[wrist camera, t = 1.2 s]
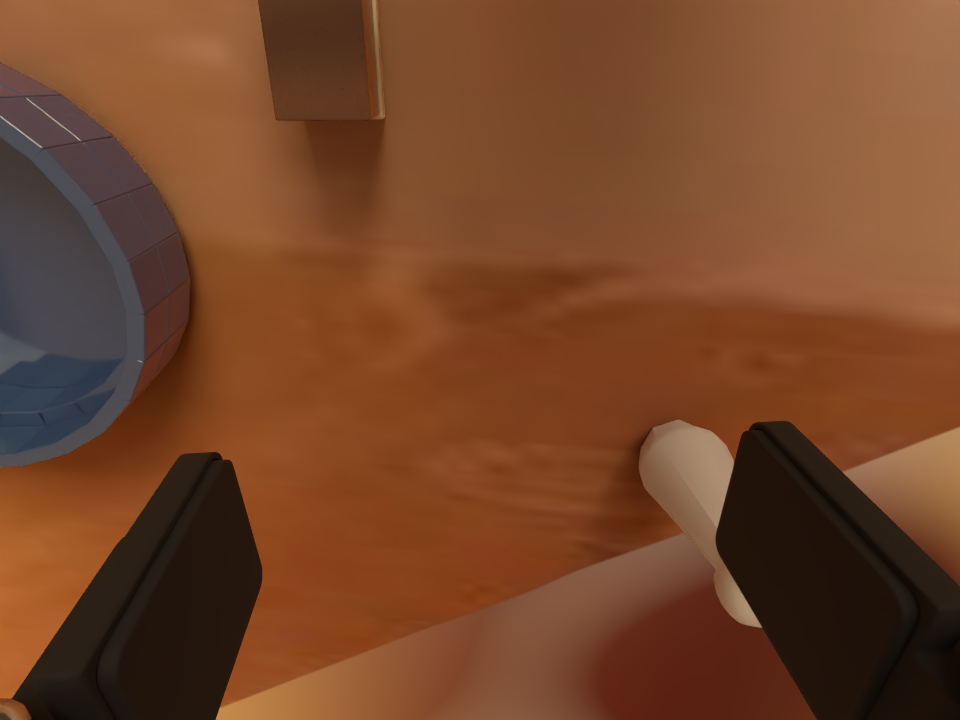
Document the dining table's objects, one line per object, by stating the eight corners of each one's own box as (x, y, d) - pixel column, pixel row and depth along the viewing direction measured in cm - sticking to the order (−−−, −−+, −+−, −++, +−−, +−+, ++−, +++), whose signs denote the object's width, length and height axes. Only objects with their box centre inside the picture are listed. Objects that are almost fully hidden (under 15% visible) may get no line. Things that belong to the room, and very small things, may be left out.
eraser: (279, -63, 23) (237, -101, 18) (373, -60, 23) (358, -97, 18) (302, 117, 26) (272, 126, 21) (385, 118, 27) (374, 126, 22)
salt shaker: (614, 467, 38) (693, 636, 26) (651, 400, 35) (756, 554, 24) (686, 484, 39) (791, 653, 28) (727, 421, 37) (861, 576, 25)
